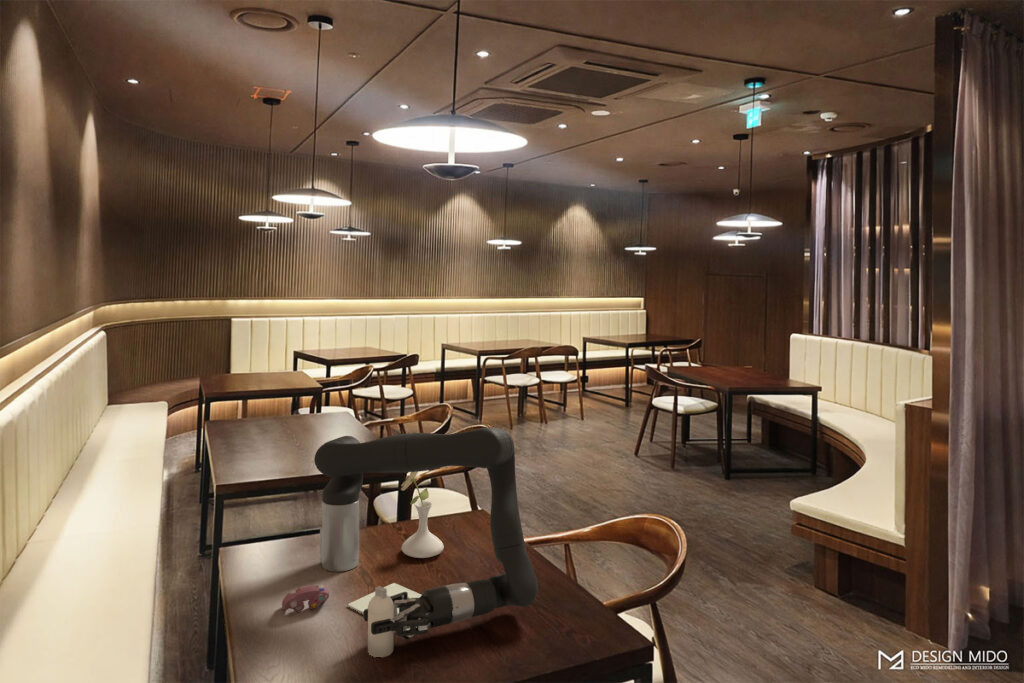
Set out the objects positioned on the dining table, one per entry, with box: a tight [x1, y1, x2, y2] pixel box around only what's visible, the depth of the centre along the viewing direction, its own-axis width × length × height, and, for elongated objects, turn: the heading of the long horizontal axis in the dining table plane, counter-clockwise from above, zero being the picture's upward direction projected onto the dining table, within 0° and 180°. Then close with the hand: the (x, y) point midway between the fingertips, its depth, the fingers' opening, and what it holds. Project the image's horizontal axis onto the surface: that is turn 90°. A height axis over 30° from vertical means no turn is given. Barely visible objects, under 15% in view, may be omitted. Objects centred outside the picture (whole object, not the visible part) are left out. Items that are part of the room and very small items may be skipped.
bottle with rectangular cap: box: [367, 585, 394, 658], centre depth 130 cm, size 5×5×13 cm
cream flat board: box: [347, 582, 422, 639], centre depth 147 cm, size 20×14×1 cm
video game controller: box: [281, 584, 330, 613], centre depth 146 cm, size 10×5×7 cm
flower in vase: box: [400, 472, 445, 559], centre depth 176 cm, size 13×11×25 cm
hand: (368, 622), depth 129 cm, fingers closed on bottle with rectangular cap, 5 cm apart
